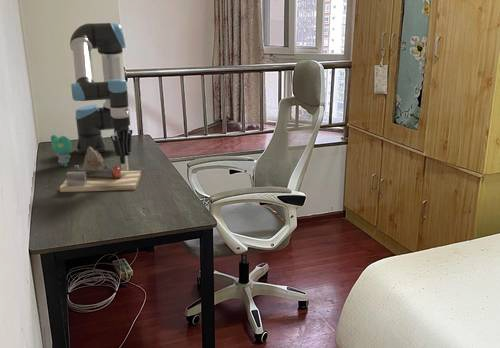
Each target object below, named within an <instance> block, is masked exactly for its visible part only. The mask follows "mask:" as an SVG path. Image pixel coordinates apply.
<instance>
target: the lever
mask: <svg viewBox="0 0 500 348" xmlns="http://www.w3.org/2000/svg"><path fill="white" fill-rule="evenodd" d="M79 171H80V172H86V177H89V178H113V179H119V178H121V171H122V170H121V166H113V167H111V168H110V169H109V168H108V169H105V168H103V169H88V168H79Z"/></svg>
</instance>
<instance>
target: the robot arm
mask: <svg viewBox="0 0 500 348" xmlns="http://www.w3.org/2000/svg"><path fill="white" fill-rule="evenodd" d="M69 46H70V50H71V51H72V53H73V55H72V56H73V63H74V64H73V66H74V75H75V77H74V78H75V82H73V83H71V85H70V86H71V87H70V89H71V95H72V96H71V97H72V100H73V101H75V102H86V101H87V102H89V101H103V100H104V102H103V103H102V107H99V105H98V104H89V105H84V106H80V107H78V108H77V109H76V110H75V121H76V128H77V141H76V145H75V152H76V153H77V154H80V155H86V152H87V149H88V147H92V148H93V149H94V150H96V151H97V152H98V153H100V154H101V153H103V152H106V150H107V144H106V141H105V140H104V138H103V136H102V131H108V130H109V131H110V130H114V131H113V133H114V134H113V135H110V139H111V141H112V143H113V148H114V151H115V154H116V157H119V162H120V170H121V171H130V169H129V168H130V167H129V156H130V155H131V153H132V151H131V150H132V135H133V129H130V128H129V126H131V114H130V113H131V112H130V111H131V109H130V106H129V96H128V95H129V94H128V89H129V88H128V84H127V80H126V79H125V78H122V70H121V69H122V68H121V55H122V53H124V52H123V51H124V49H125V48H126V41H125V37H124V33H123V29H122V25H121V24H120V23H115V22H99V23H98V22H97V23H95V22H94V23H93V22H92V23H84V24H82V25H80V26H78V27H77V28H76V29H75V30H74V32H73V33H72V34H71V36H70V42H69ZM93 49H95V50H97V52H98V54H99V55H100V56H101V61H102V62H101V65H102V77H103V81H95V78H94V71H93V69H94V68H93V64H92V63H93V62H92V53H91V51H92V50H93Z"/></svg>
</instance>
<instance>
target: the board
mask: <svg viewBox="0 0 500 348" xmlns="http://www.w3.org/2000/svg"><path fill="white" fill-rule="evenodd" d="M104 169H109V166H108V164H105V165H104ZM73 170H74V171H67V173H65V180H64V181H63V183H62V184H61V185H60V186H59V192H60V193H66V192H67V193H68V192H69V193H73V192H95V191H96V192H98V191H99V192H100V191H102V192H103V191H125V190H126V191H127V190H128V191H129V190H131V191H133V190H137V187H138V184H139V182H140V179H141V177H142V170H128V171H123V170H121V178H119V179H113V178H89V177H86V172H80V165H79V164H74V165H73Z"/></svg>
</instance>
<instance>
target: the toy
mask: <svg viewBox="0 0 500 348" xmlns="http://www.w3.org/2000/svg"><path fill="white" fill-rule="evenodd" d="M50 142H51V148H52V150H53V151H54V152H55V153H56V154H55V155H56V157H58V161H57V163H58V164H60V167H64V168H65V167H68V162H70V159H71V155H70V154H71V153H70V152H71V150H72V148H73V143H72V141H71V139H69V138H68V137H66V136H65V135H62V136H57V135H56V134H52V135H51V136H50Z"/></svg>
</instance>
